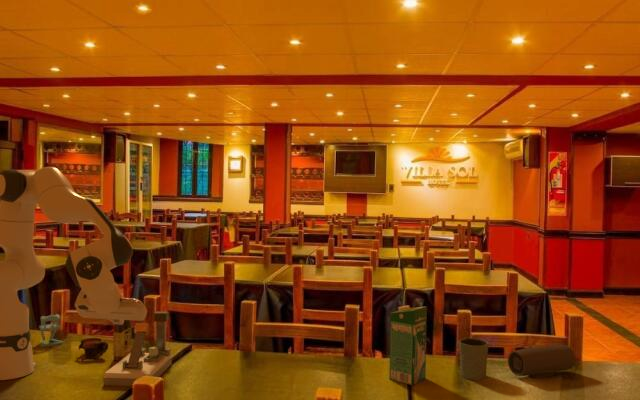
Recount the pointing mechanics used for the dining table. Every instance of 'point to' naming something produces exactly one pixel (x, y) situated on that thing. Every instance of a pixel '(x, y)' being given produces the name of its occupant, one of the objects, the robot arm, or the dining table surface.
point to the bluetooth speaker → (541, 360)
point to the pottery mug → (92, 348)
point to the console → (146, 367)
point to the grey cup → (473, 358)
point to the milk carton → (408, 344)
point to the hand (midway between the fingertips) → (119, 322)
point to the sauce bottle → (122, 340)
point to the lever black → (161, 331)
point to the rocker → (141, 351)
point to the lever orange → (137, 344)
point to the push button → (153, 352)
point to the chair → (48, 327)
